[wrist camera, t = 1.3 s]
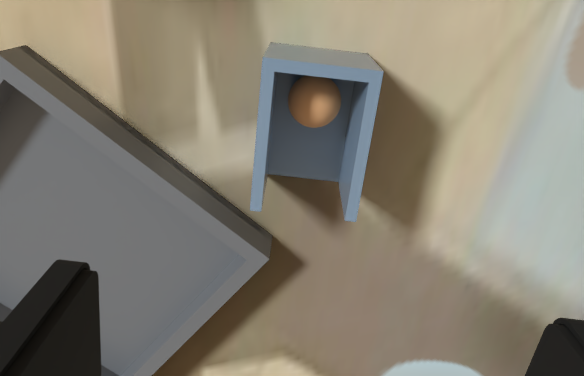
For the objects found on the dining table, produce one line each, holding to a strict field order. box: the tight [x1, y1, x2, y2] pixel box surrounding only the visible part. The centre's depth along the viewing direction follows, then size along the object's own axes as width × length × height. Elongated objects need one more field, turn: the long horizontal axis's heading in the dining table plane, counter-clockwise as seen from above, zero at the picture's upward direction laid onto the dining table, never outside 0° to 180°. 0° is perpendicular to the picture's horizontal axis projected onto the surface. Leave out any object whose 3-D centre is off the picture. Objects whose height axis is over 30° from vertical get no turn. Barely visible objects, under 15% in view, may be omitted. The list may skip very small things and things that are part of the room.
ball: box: [288, 75, 341, 128], centre depth 27 cm, size 3×3×3 cm
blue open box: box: [250, 42, 384, 222], centre depth 27 cm, size 8×6×6 cm
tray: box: [0, 45, 272, 376], centre depth 32 cm, size 19×18×3 cm
